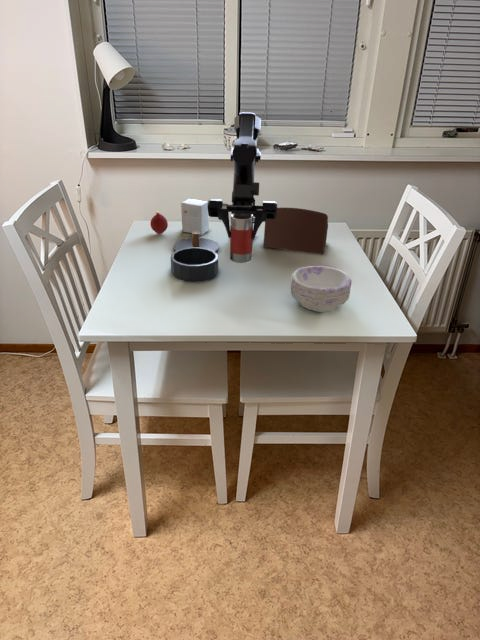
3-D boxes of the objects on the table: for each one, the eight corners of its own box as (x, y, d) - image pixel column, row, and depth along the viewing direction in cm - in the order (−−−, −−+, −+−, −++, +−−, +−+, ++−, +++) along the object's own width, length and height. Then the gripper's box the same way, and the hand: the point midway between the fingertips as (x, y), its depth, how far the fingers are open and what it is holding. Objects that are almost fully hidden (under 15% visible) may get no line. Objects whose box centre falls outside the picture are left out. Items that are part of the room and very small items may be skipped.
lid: (185, 238, 166) (185, 222, 164) (225, 244, 162) (225, 228, 159) (165, 253, 155) (164, 236, 152) (207, 261, 150) (207, 244, 148)
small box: (209, 230, 173) (209, 201, 168) (201, 235, 169) (201, 205, 164) (189, 226, 176) (188, 198, 171) (181, 231, 172) (180, 202, 166)
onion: (169, 231, 171) (168, 209, 167) (166, 237, 166) (164, 215, 162) (153, 230, 172) (152, 208, 168) (149, 236, 167) (147, 214, 163)
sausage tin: (237, 252, 139) (238, 210, 133) (255, 257, 137) (257, 214, 130) (225, 259, 135) (226, 216, 128) (244, 265, 132) (246, 220, 126)
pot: (184, 259, 151) (183, 244, 148) (224, 266, 147) (225, 251, 145) (163, 277, 140) (162, 261, 137) (206, 285, 136) (206, 269, 133)
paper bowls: (313, 285, 138) (316, 259, 134) (358, 304, 129) (363, 277, 125) (277, 302, 129) (279, 275, 124) (323, 324, 119) (327, 296, 115)
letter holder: (323, 254, 157) (328, 212, 150) (263, 247, 161) (265, 206, 154) (326, 243, 165) (331, 202, 158) (268, 237, 169) (271, 197, 162)
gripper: (207, 168, 127) (204, 224, 124) (279, 171, 127) (277, 226, 123) (210, 190, 138) (207, 241, 134) (276, 192, 138) (275, 244, 134)
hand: (241, 238), depth 131 cm, fingers closed on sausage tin, 6 cm apart
